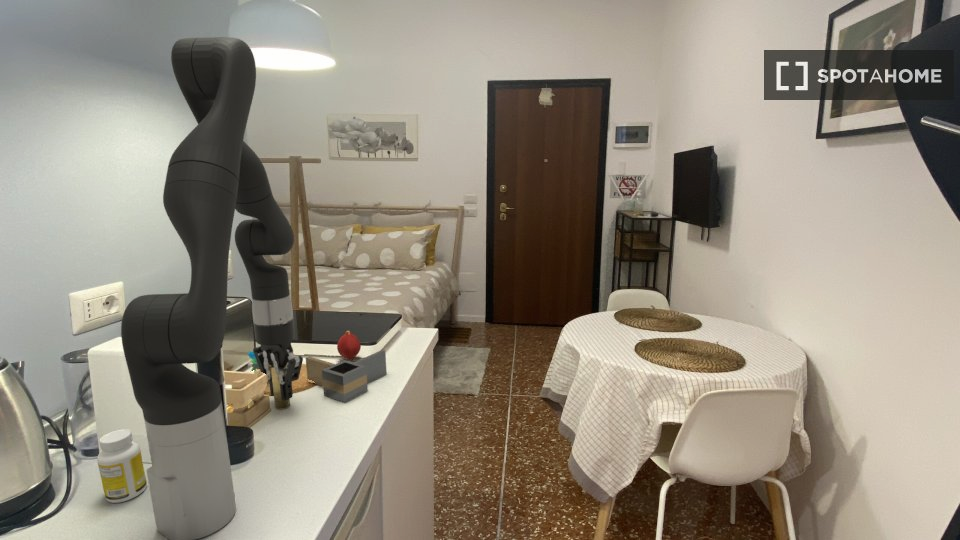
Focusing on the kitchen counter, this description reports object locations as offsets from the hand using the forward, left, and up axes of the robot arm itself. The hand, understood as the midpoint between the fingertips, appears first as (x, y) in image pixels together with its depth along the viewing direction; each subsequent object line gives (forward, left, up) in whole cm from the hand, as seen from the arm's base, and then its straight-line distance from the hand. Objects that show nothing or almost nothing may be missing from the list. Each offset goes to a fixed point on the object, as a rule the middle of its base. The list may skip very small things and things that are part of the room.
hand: (281, 396), depth 106 cm
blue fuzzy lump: (+8, +16, -2) cm, 18 cm away
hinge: (+16, -2, -2) cm, 16 cm away
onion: (+25, +7, -2) cm, 26 cm away
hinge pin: (0, 0, -2) cm, 2 cm away
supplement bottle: (-31, -4, -2) cm, 31 cm away
